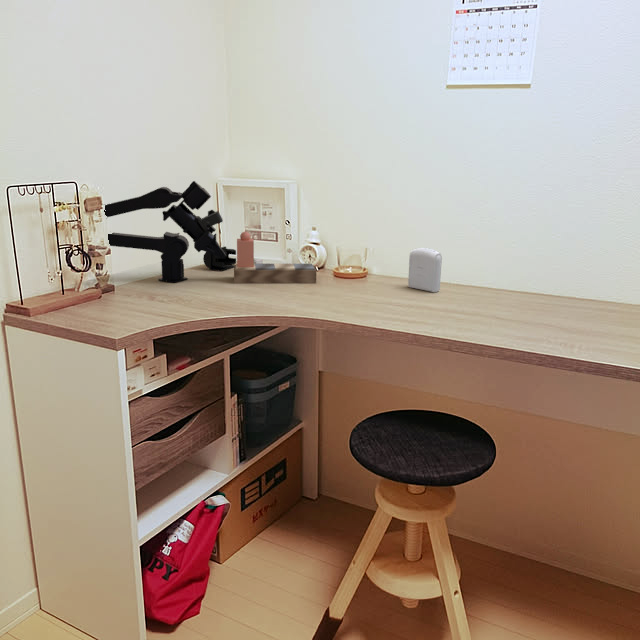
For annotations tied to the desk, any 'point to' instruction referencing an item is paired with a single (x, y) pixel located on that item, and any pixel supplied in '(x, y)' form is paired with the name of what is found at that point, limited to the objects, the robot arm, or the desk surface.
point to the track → (275, 273)
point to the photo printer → (425, 269)
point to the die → (258, 261)
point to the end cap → (220, 260)
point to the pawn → (245, 251)
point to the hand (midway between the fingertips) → (225, 257)
